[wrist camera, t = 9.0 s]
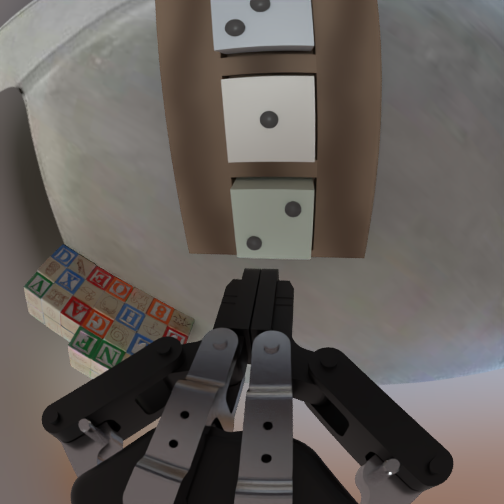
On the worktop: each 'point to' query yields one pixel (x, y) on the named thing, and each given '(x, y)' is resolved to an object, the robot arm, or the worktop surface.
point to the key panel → (326, 121)
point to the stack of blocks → (98, 312)
